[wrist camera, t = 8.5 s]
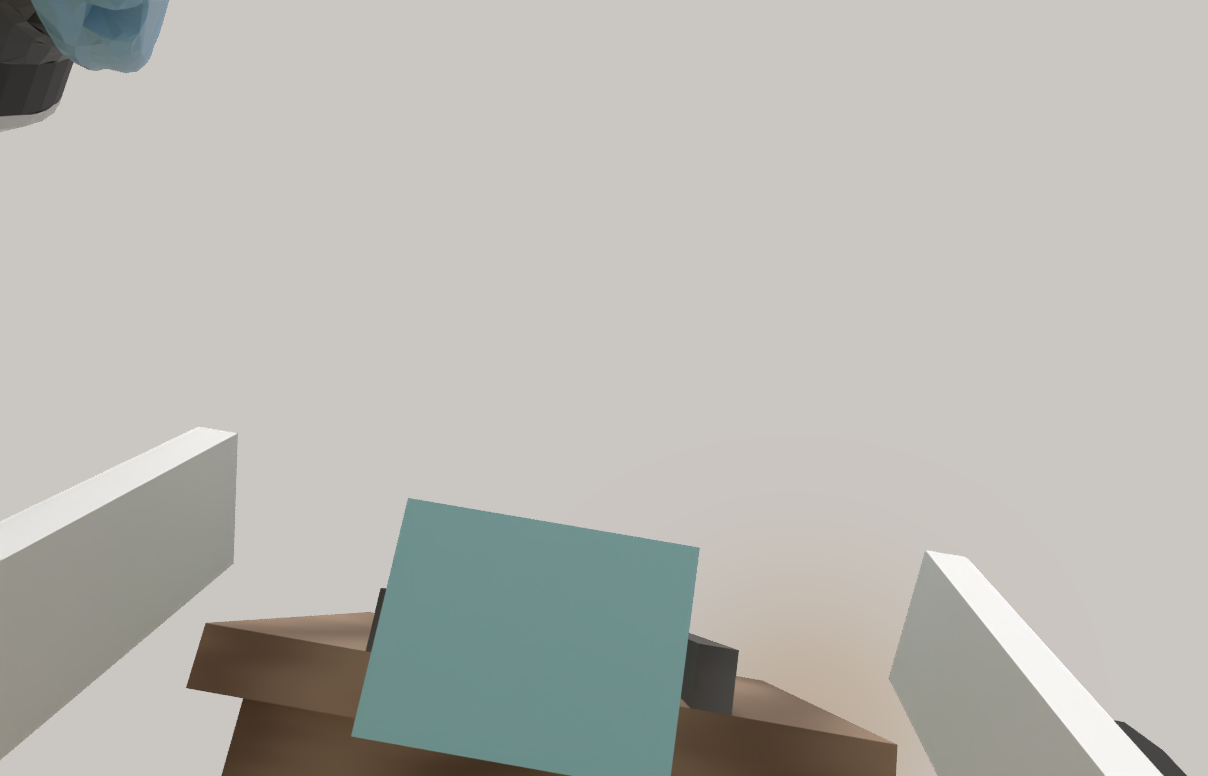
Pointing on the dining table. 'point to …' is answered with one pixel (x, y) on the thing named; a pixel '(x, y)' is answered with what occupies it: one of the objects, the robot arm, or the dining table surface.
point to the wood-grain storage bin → (394, 772)
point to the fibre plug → (530, 644)
